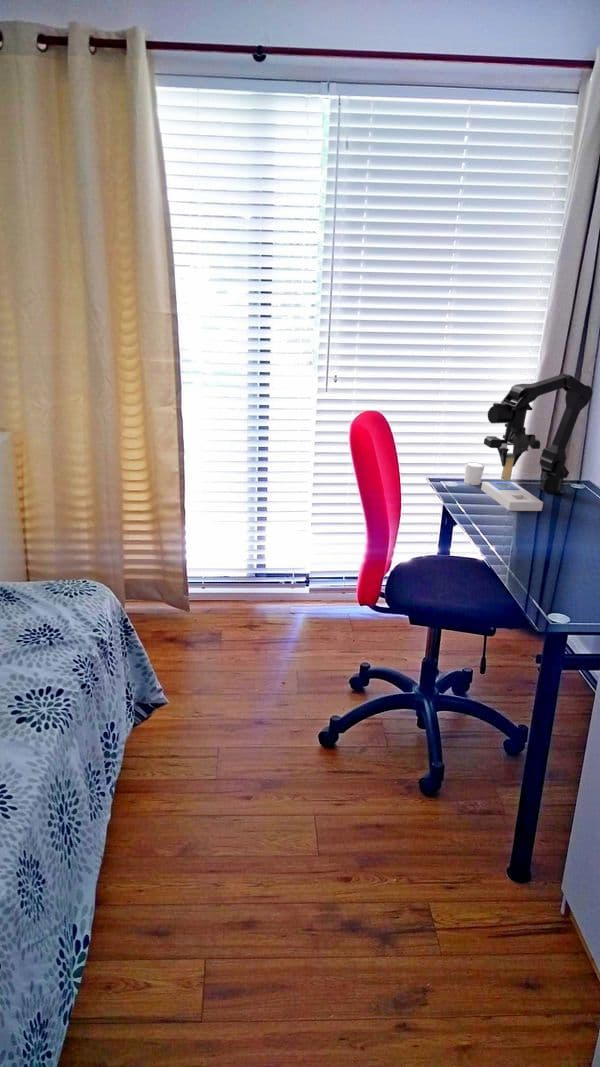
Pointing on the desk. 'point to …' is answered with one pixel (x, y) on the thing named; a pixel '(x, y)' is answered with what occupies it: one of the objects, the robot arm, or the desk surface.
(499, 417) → the robot arm
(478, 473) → the white cylinder
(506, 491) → the block
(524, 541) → the desk surface
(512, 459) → the grey-capped tan cylinder
